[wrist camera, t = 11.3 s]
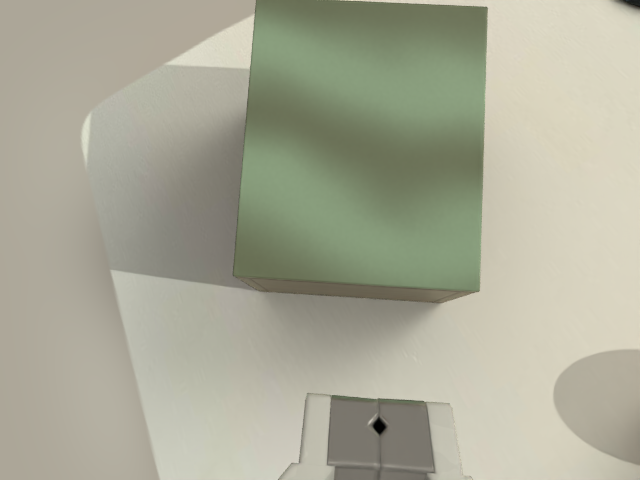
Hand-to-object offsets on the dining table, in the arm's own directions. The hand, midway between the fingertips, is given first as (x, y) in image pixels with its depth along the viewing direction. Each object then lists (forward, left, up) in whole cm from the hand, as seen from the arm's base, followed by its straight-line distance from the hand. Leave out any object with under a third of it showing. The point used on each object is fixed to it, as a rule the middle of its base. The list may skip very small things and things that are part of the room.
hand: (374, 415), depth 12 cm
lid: (+5, +12, -19) cm, 23 cm away
